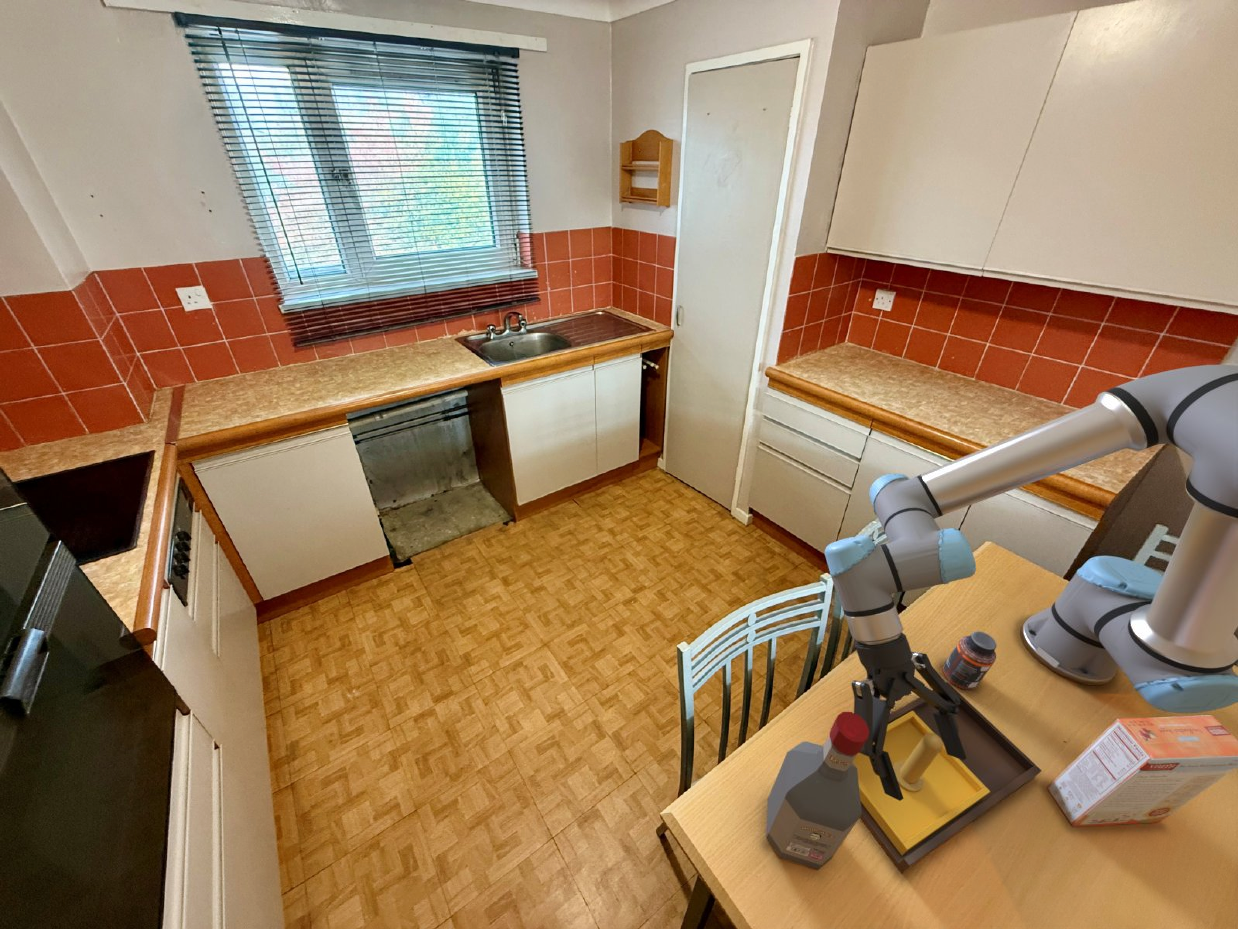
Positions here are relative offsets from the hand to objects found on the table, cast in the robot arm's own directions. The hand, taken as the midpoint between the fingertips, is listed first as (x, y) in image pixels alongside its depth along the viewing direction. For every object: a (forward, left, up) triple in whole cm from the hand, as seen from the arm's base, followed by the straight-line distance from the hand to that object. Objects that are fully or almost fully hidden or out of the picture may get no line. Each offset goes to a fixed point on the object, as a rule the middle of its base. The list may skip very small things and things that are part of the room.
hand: (926, 776), depth 76 cm
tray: (0, -2, -5) cm, 6 cm away
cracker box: (-26, +13, -7) cm, 30 cm away
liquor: (+20, -4, -7) cm, 21 cm away
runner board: (-5, -2, -7) cm, 9 cm away
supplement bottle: (-26, -11, -7) cm, 29 cm away
